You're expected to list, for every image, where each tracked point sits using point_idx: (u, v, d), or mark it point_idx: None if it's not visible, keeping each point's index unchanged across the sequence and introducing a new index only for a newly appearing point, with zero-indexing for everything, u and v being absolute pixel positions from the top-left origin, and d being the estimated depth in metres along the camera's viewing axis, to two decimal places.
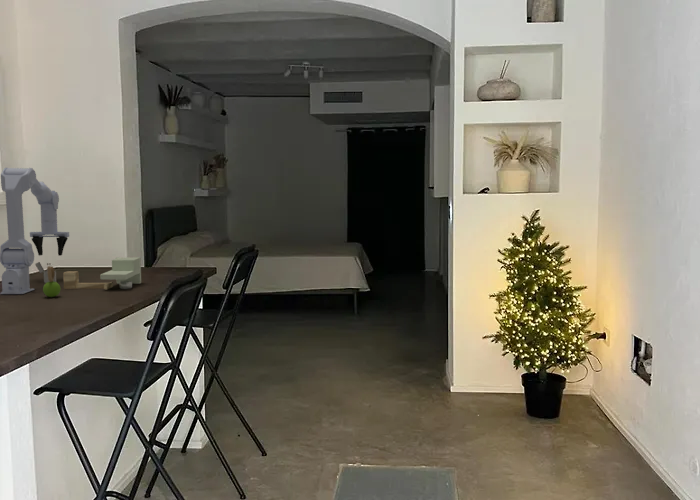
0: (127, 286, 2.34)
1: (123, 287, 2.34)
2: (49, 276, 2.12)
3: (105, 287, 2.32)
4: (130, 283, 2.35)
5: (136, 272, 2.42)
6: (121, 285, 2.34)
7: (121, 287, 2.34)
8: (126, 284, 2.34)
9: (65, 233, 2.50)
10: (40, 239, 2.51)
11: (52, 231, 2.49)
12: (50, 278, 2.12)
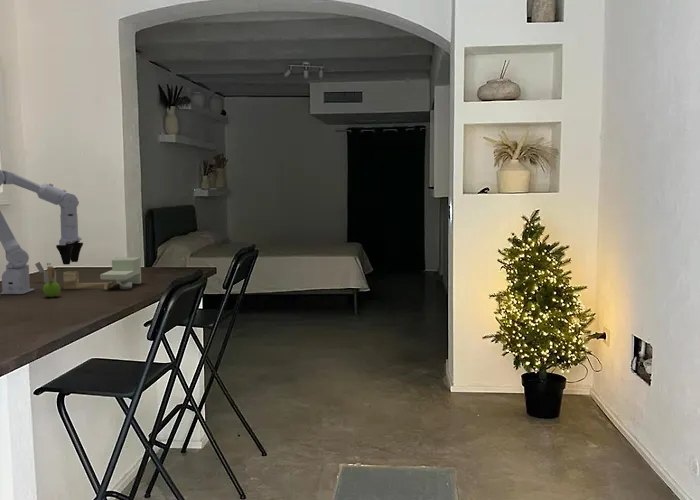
0: (127, 286, 2.34)
1: (123, 287, 2.34)
2: (49, 276, 2.12)
3: (105, 287, 2.32)
4: (130, 283, 2.35)
5: (136, 272, 2.42)
6: (121, 285, 2.34)
7: (121, 287, 2.34)
8: (126, 284, 2.34)
9: None
10: (74, 245, 2.37)
11: (61, 237, 2.31)
12: (50, 278, 2.12)
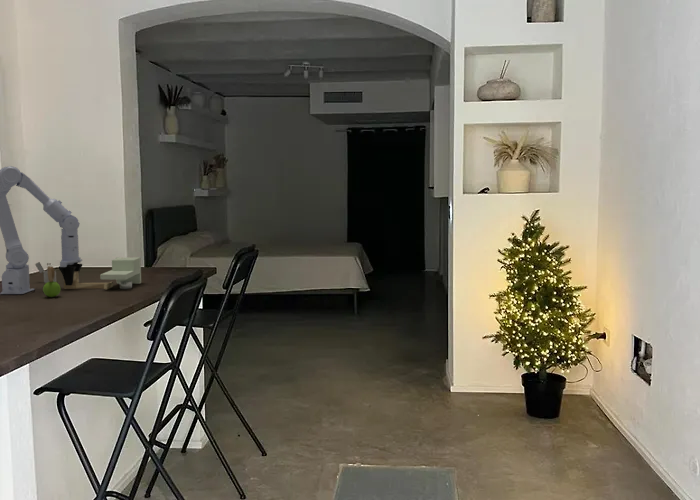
0: (127, 286, 2.34)
1: (123, 287, 2.34)
2: (49, 276, 2.12)
3: (105, 287, 2.32)
4: (130, 283, 2.35)
5: (136, 272, 2.42)
6: (121, 285, 2.34)
7: (121, 287, 2.34)
8: (126, 284, 2.34)
9: None
10: (73, 266, 2.36)
11: (62, 258, 2.32)
12: (50, 278, 2.12)
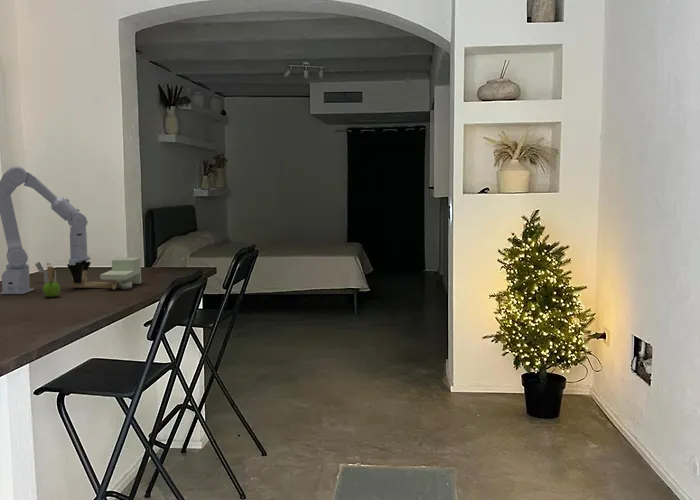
0: (127, 286, 2.34)
1: (123, 287, 2.34)
2: (49, 276, 2.12)
3: (113, 287, 2.32)
4: (130, 283, 2.35)
5: (136, 272, 2.42)
6: (121, 285, 2.34)
7: (121, 287, 2.34)
8: (126, 284, 2.34)
9: None
10: (82, 264, 2.36)
11: (71, 257, 2.32)
12: (50, 278, 2.12)
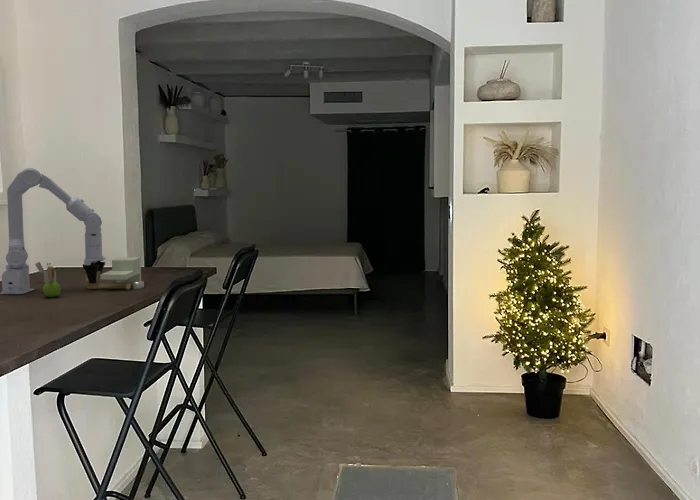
0: (139, 286, 2.34)
1: (135, 287, 2.34)
2: (49, 276, 2.12)
3: (127, 287, 2.32)
4: (142, 283, 2.35)
5: (136, 272, 2.42)
6: (133, 285, 2.34)
7: (133, 287, 2.34)
8: (138, 284, 2.34)
9: None
10: (96, 264, 2.37)
11: (86, 257, 2.32)
12: (50, 278, 2.12)
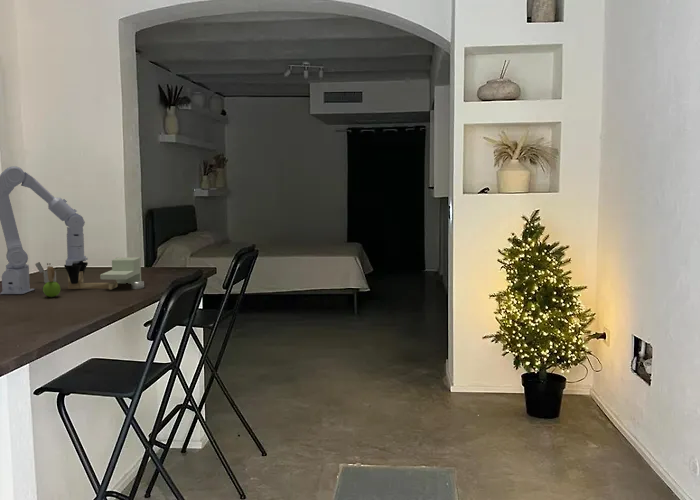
0: (139, 286, 2.34)
1: (135, 287, 2.34)
2: (49, 276, 2.12)
3: (109, 287, 2.32)
4: (142, 283, 2.35)
5: (136, 272, 2.42)
6: (133, 285, 2.34)
7: (133, 287, 2.34)
8: (138, 284, 2.34)
9: None
10: (79, 265, 2.36)
11: (68, 257, 2.32)
12: (50, 278, 2.12)
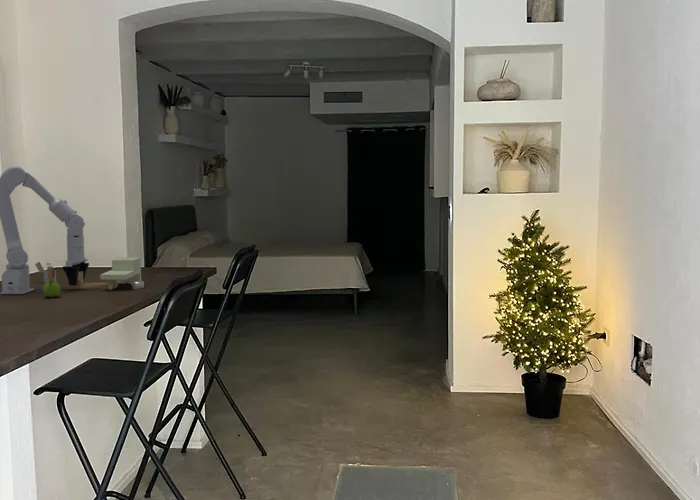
0: (139, 286, 2.34)
1: (135, 287, 2.34)
2: (49, 276, 2.12)
3: (109, 287, 2.32)
4: (142, 283, 2.35)
5: (136, 272, 2.42)
6: (133, 285, 2.34)
7: (133, 287, 2.34)
8: (138, 284, 2.34)
9: None
10: (80, 265, 2.38)
11: (68, 258, 2.32)
12: (50, 278, 2.12)
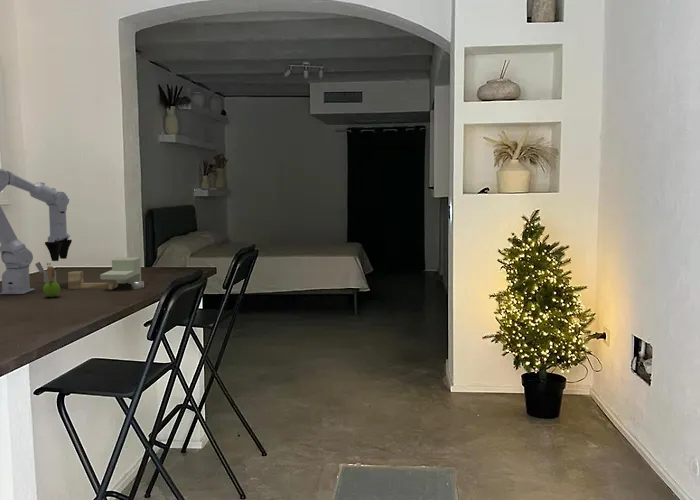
0: (139, 286, 2.34)
1: (135, 287, 2.34)
2: (49, 276, 2.12)
3: (109, 287, 2.32)
4: (142, 283, 2.35)
5: (136, 272, 2.42)
6: (133, 285, 2.34)
7: (133, 287, 2.34)
8: (138, 284, 2.34)
9: None
10: (63, 242, 2.42)
11: (50, 234, 2.35)
12: (50, 278, 2.12)
